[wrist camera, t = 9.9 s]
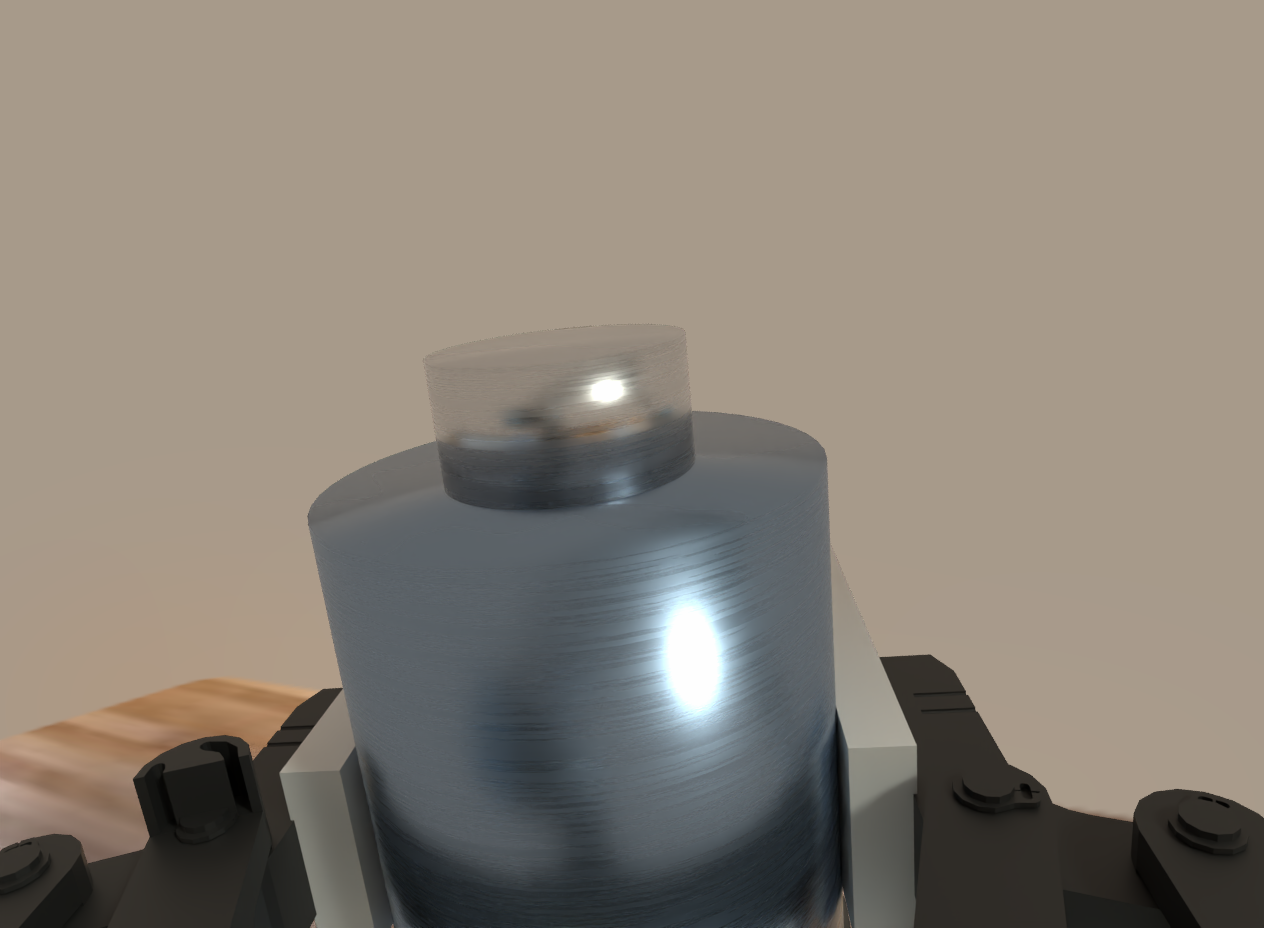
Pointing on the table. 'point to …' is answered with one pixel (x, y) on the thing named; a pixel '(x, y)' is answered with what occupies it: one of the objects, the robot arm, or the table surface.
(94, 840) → the table surface
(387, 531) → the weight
